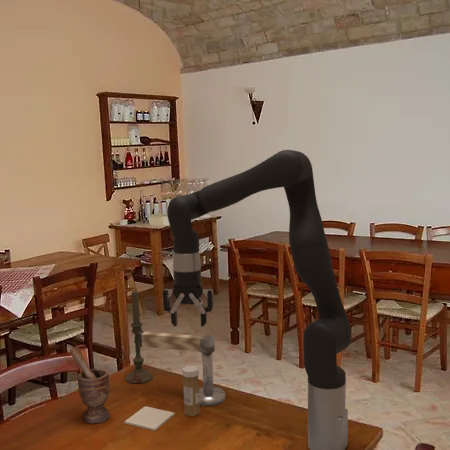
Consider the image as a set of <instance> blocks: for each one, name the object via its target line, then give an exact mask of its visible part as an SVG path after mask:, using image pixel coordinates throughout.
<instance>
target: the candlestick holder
mask: <svg viewBox="0 0 450 450" xmlns="http://www.w3.org/2000/svg"><path fill="white" fill-rule="evenodd" d="M139 296H140V293H139V291H138V290H135V289H134V290H132V291H131V301H132V302H131V303H132V304H131V305H132V323H131V322H130V327H131V332H132V334H133V335H134V340H133V341H134V342H133V343H134V346H135V347H134V349H135V357H134V358H133V360H132V362H133V365H134V366H135V369H134V370H132V371H131V372H129V373H128V374H127V375H126V376H125V378H124V380H125V382H127V383H128V384H134V385H141V384H146V383H149V382H150V381H151V380H153V379H154V374H153V373H152V372H151V371H148V370H146V369H144V368H143V367H142V366H143V364H144V360H145V359H144V358H143V357H142V355H141V347H138V333H139V332H141V331H143V329H142V326H143V322H141V318H140V317H141V316H140V297H139Z"/></svg>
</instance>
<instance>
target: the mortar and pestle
mask: <svg viewBox="0 0 450 450" xmlns="http://www.w3.org/2000/svg"><path fill="white" fill-rule="evenodd" d="M69 352H70V356H71V357H72V359H73V360H74V362H75V363H76V365H78V367H79V368H80V370H81V372H79V373H78V374H77V376H76V377H77V384H78V393H79V396H80V400H81V402H82V404H84V406H86V410H85V411H84V413H83V414H82V415H83V416H82V421H83V422H84V423H87V424H98V423H105V422H106V421H107V420H108V419H109V418H110V412H109V410H108V409H107V408H106V407H105V406H104V405H105V403H106V402H107V401H108V399H109V393H110V373H109V371H108V370H107V369H106V368H89V366H88V364H87V362H86V359H85V357H84V355H83V353H82V350H81V349H80V347H78V346H74V347H73V348H71V349H70V350H69Z"/></svg>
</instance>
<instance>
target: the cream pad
mask: <svg viewBox="0 0 450 450" xmlns="http://www.w3.org/2000/svg"><path fill="white" fill-rule="evenodd" d="M175 414H176V413H175V412H173V411H168V410H164V409H159V408H156V407H155V408H154V407H151V406H150V407H149V406H146V405H145V406H144V407H142V408H141V409H139V410H138V411H136V412H135V413H134V414H133V415H131V416H130V417H128V418H127V419H126V420H124V424H125V425H130V426H134V427H138V428H140V429H141V428H142V429H146V430H149V431H154V432H156V431H157V430H158V429H159V428H161V427H162V426H164V424H165V423H166V422H168V421H169V420H170V419H171V418H173V417H174V416H175Z"/></svg>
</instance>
